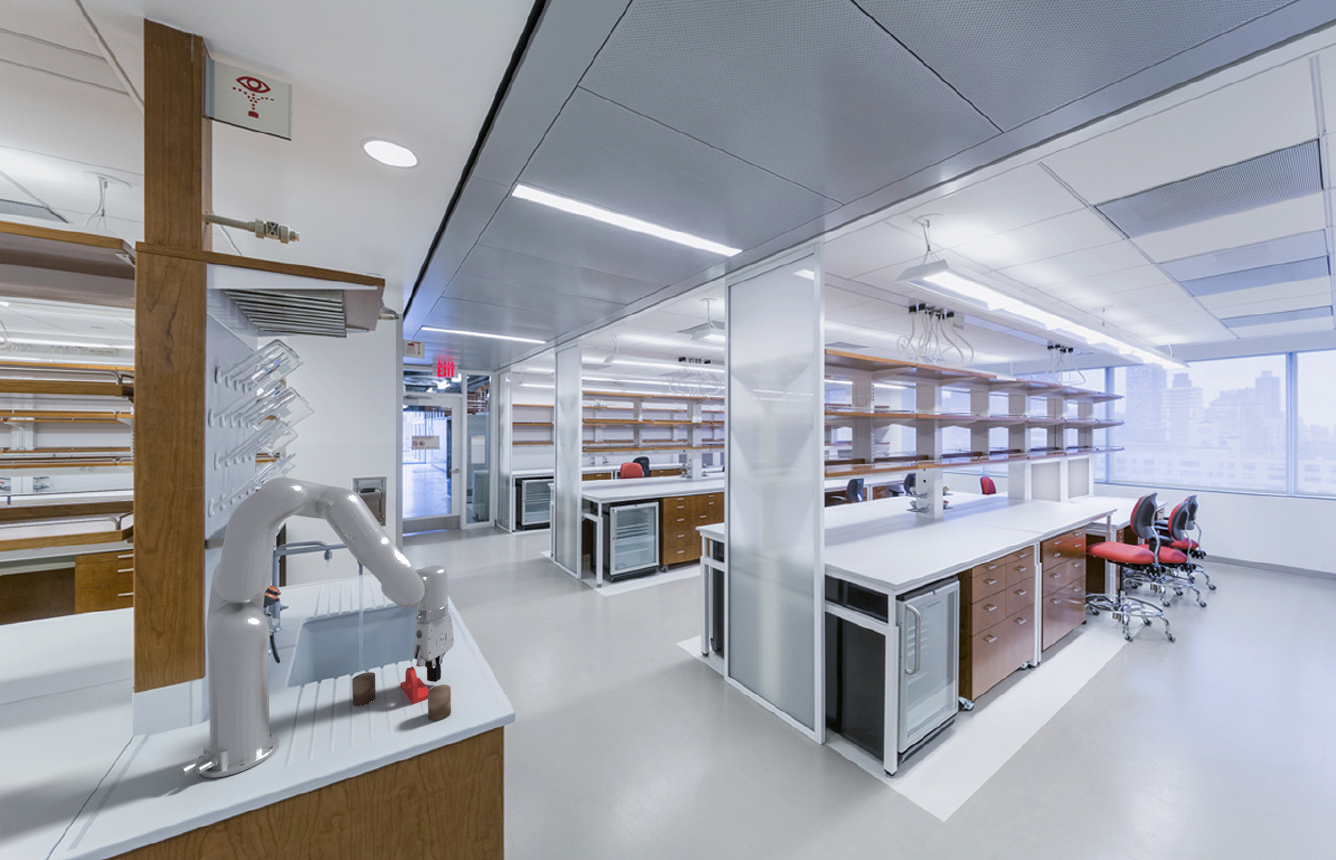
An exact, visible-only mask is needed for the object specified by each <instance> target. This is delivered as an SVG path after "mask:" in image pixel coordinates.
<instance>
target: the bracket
mask: <svg viewBox="0 0 1336 860" xmlns="http://www.w3.org/2000/svg"><path fill="white" fill-rule="evenodd" d="M404 676H405V677H404V678H405V681H402V682H400V683H399V687H400V688H401V689H402V691H403V693H404V694H405V695H406V696H407V698H408V699H409V701H410V702H411V704H412V705H415V704H418V703H421V702H423V701H426V700H427V701H428V691H429V690H430V689H429V688H428V686H427V685H426V684H425V683H424V682H423V680H422V679H421V678H420V677H418V676H417V672H416V670H415V667H414V666H410V667H408V668H406V670H405V675H404Z"/></svg>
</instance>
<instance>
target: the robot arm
mask: <svg viewBox="0 0 1336 860" xmlns="http://www.w3.org/2000/svg"><path fill="white" fill-rule="evenodd" d="M292 516H298V517H302V518H303V517H304V518H312V519H321V520H325V521H326V522H327V523H328V524H329V526H330V527H331V529H333V531H334V532H335V534H336V535H337V536H338V537H339V539H340V540H341V541H342V543H343V544H344V545H345V547H346V549H347V550H348V551H349V552H350V554H351V555H352V556H353V557H354V558H355V559H356V561H358V562H359V564H360V565H361V566H363V567H365V569H367V570H368V571H369V572H370V573H371V574H372V575H373V576H374V577H375V578H376V579H377V581H379V583H380V584H381V586H380V590H381V592H382V594H383V595H384V596H385V597H386V598H387V599H388V600H389V601H391V602H392V603H394V604H395V605H396V606H398V607H400V608H404V609H405V608H407V609H409V608H411V607H415V606H416V607H417V608H416V615H415V620H416V623H415V628H414V635H413V637H414V638H413V656H414V659H415V660H416V664H415V666H416V667H419V668H421V667H424V668H426V680H427V681H428V682H432V683H437V682H438V681H440V680H441V679H442V665H441V664H443V661H444V656H445V654H446V653H448V651H450V650H451V649H452V648H453V647H454V644H455V643H454V642H455V641H454V639H455V638H454V627H453V620H452V616H451V613H450V612H449V606H448V605H449V600H448V599H449V597H448V596H449V595H448V593H449V589H448V570H447V568H446V567H445V566H443V565H437V564H436V565H428V566H425V567H423V568H422V567H421V568H417V569H415V568H414V567H413V565H412V564H411V562H410V561H409V560H408V558H406V556H405V555H404V553H402V551H401V550H400V549H399V547H398V546H397V544H396V543H395V542H394V541H393V539H392V538H391V537H390V536H389V534H388V532H386V531H385V529H384V528H383V526H382V525H381V524H380V522H379V521H378V519H377V518H376V516H375V515H374V514H373V512H372V511H371V509H370V508H369V507H368V505H367V504H366V502H365V501H364V500H363V498H362V497H361V496H360V495H359V494H358V493H357V492H356V491H354V490H351V489H348V488H345V487H340V486H333V485H327V484H322V483H321V484H320V483H315V482H312V481H305V480H302V479H301V480H300V479H296V478H290V477H284V476H283V477H282V476H281V477H280V476H279V477H276V478H272V479H269V480H268V481H266V482H265V483H263V484H262V485H261V487H260V488H259V490H257V491H255V492H254V493H252V494H251V495H248V496H247V497H246V498H245V499H243V500H242V502H240V503H239V504H238V505H237V507H236V508H235V509H234V510H233V512H232V513H231V515H230V517H229V519H228V522H227V523H226V528H225V532H224V533H225V534H224V540H223V544H222V549H221V556H220V562H218V563H217V565H216V567H215V568H214V570H213V574H212V577H211V585H210V593H209V601H208V610H207V617H206V618H207V619H206V638H207V657H208V658H207V662H208V666H207V667H208V704H209V707H208V708H209V711H208V712H209V713H208V714H209V717H208V718H209V745H208V746H206V747H204V748H203V754H201V755H199V756H198V758H197V759H195V760H194V761H191V762H189V763H187V764H185V765H183V766H181V767H180V768H179V771H178V772H179V776H180V777H181V778H186V777H187V776H189V775H191V774H192V773H195V772H196V774H197V775H201V776H203V777H204V778H209V779H211V778H212V779H213V778H214V779H215V778H222V777H228V776H231V775H236V774H238V773H240V772H244V771H247V770H249V769H251V768H252V767H255V766H257V765H259V764H260V763H262V762H264V761H265V760H267V759H268V758H269V757H271V756H272V755H273V754H274V753H275V752H276V751H277V749H278V748H279V746H280V738H279V736H278V735H275V734H274V733H271V732H270V730H271V729H270V689H269V688H270V685H269V684H270V680H269V674H270V673H269V650H270V649H269V648H270V626H269V622H268V618H267V617H266V615H265V613H264V603H265V596H266V595H265V594H266V592H267V590H268V589H269V586H270V585H271V582H272V578H273V560H274V558H273V557H274V548H275V542H276V536H277V533H278V529H279V528H280V525H282V524H283V522H284V521H285V520H286V519H288V518H290V517H292Z"/></svg>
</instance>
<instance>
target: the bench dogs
mask: <svg viewBox="0 0 1336 860" xmlns="http://www.w3.org/2000/svg"><path fill="white" fill-rule="evenodd" d="M351 681H352V682H351V683H352V684H351V687H352V688H351V689H352V705H353V706H355V707H361V706H360V705H362V706H365V704H366V705H368V704H370V703H369V702H371V701H372V702H374V701H375V700H376V698H375V697H376V695H377V694H376V693H377V692H376V673H375V672H371V671H368V672H367V671H366V672H364V673H359V674H357V675H356V676H354V677H353V678H352V680H351ZM451 691H452V690H451V686H450V685H449V684H440V685H439V684H438V685H436V686H434V687H432V688H430V689H429V691H428V699H427V707H428V708H427V714H428V715H427V717H428V718H427V719H428V721H431V722H439V721H442V720H445V719H447V718H449V717H450V715H451V714H450V713H452V701H451V700H452V695H451V694H452V692H451ZM374 699H375V700H374ZM373 700H374V701H373ZM372 702H371V703H372Z"/></svg>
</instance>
